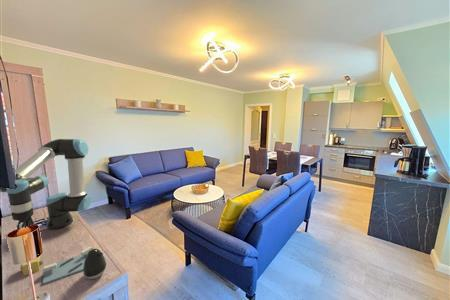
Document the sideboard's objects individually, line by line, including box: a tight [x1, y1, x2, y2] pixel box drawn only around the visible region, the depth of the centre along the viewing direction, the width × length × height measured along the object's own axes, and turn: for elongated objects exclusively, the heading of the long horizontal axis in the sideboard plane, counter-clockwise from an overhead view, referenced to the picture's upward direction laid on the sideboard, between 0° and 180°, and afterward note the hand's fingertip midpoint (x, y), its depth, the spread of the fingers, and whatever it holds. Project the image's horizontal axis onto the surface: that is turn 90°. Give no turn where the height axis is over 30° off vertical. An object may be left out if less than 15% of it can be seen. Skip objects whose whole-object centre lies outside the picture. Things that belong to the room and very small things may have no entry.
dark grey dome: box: [82, 248, 107, 280], centre depth 102 cm, size 10×10×15 cm
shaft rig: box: [42, 246, 94, 286], centre depth 107 cm, size 13×22×5 cm, turn 126°
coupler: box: [19, 255, 44, 276], centre depth 104 cm, size 6×8×6 cm
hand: (28, 246), depth 102 cm, fingers open, 13 cm apart
